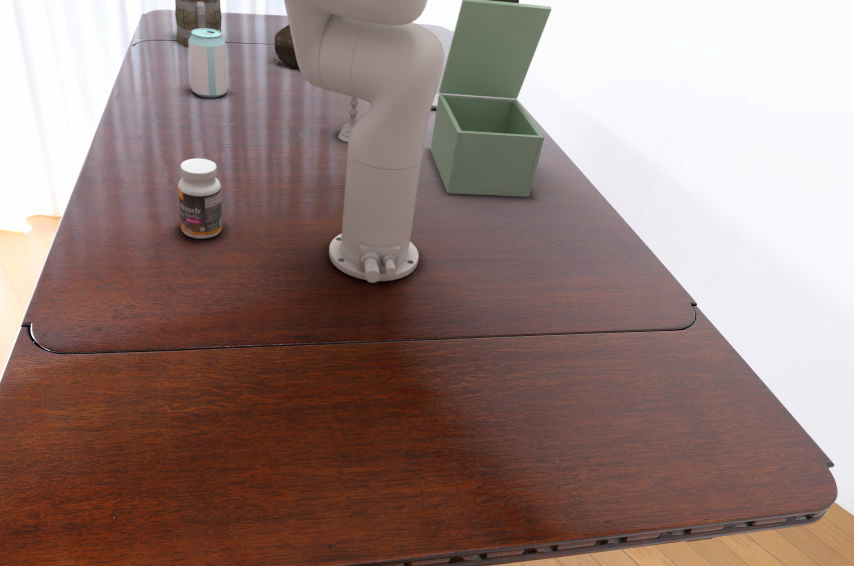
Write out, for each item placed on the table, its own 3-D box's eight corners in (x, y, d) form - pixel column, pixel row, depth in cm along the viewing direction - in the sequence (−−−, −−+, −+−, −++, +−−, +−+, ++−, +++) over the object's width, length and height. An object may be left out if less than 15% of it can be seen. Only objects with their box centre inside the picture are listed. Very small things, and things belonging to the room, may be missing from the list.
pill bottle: (172, 231, 95) (166, 166, 90) (200, 216, 100) (195, 152, 94) (204, 244, 94) (200, 178, 88) (231, 228, 98) (229, 164, 92)
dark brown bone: (303, 81, 158) (322, 61, 183) (327, 42, 154) (343, 27, 178) (263, 52, 156) (287, 36, 180) (287, 11, 151) (308, 1, 175)
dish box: (529, 197, 117) (544, 137, 111) (447, 193, 115) (457, 132, 109) (504, 154, 131) (516, 99, 125) (430, 150, 129) (438, 94, 123)
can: (189, 87, 141) (185, 26, 134) (224, 86, 144) (221, 27, 137) (194, 99, 136) (190, 37, 129) (229, 98, 139) (227, 37, 132)
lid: (551, 9, 109) (545, -12, 112) (463, 0, 106) (459, -21, 109) (517, 98, 124) (512, 78, 127) (439, 93, 122) (436, 72, 125)
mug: (175, 34, 170) (171, -18, 162) (220, 36, 173) (218, -15, 166) (179, 54, 158) (175, -2, 151) (227, 55, 161) (225, 1, 154)
